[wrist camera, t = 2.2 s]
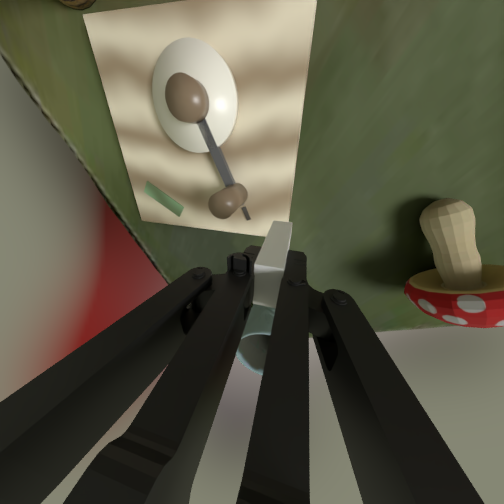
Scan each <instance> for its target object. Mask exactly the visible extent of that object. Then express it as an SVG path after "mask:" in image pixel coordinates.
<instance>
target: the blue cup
mask: <svg viewBox="0 0 504 504" xmlns="http://www.w3.org/2000/svg"><path fill="white" fill-rule="evenodd" d="M275 309H276V308H272V307H267V306H262V305H257V304H253V307H252V308H251V311H250V314H249V317H248V320H247V323H246V326H245V329H244V332H243V335H242V338H241V341H240V344H239V346H238V349H237V352H236V356H237V358H238V359H239V360H240V362H241V363H242V364H243V365H244V366H246V367H247V368H248V369H250V370H252V371H253V372H255V373H257V374H260V375H263V370H264V365H265V360H266V355H267V350H268V345H269V340H270V334H271V329H272V324H273V319H274V314H275Z"/></svg>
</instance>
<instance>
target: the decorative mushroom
mask: <svg viewBox="0 0 504 504" xmlns="http://www.w3.org/2000/svg"><path fill="white" fill-rule="evenodd" d="M419 221H420V225H421V229H422V231H423V233H424V235H425V237H426V238H427V240H428V242H429V244H430V246H431V249H432V252H433V257H434V263H435V265H436V269H430V270H427V271H424V272H421V273H418V274H416V275H414V276H413V277H411V278H410V279H409V280H408V281H407V282H406V285H405V289H404V293H405V295H406V296H407V297H408V299H409V300H410V301H411V302H412V303H413V304H414V305H415V306H416V307H418V308H419V309H420V310H422V311H423V312H424V313H426V314H428V315H430V316H432V317H434V318H437V319H439V320H441V321H444V322H446V323H450V324H454V325H459V326H464V327H477V328H490V327H502V326H504V266H500V265H481V259H480V255H479V253H478V250H477V248H476V243H475V216H474V213H473V209H472V207H470V206H469V205H468V204H466V203H465V202H463V201H462V200H457V199H450V198H445V199H441V200H437V201H434V202H433V203H431V204H430V205H429V206H428V207H426V208H425V209H424V210H423V212H422V214H421V217H420V219H419Z"/></svg>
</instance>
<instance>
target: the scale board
mask: <svg viewBox="0 0 504 504" xmlns="http://www.w3.org/2000/svg"><path fill="white" fill-rule="evenodd" d="M316 4H317V0H186V1H178V2H171V3H164V4H156V5H149V6H142V7H134V8H127V9H119V10H112V11H105V12H97V13H90V14H83V18H84V21H85V25H86V28H87V32H88V35H89V39H90V42H91V46H92V49H93V53H94V56H95V60H96V63H97V66H98V70H99V73H100V77H101V80H102V84H103V87H104V91H105V94H106V98H107V101H108V105H109V108H110V112H111V115H112V119H113V122H114V125H115V129H116V132H117V136H118V139H119V143H120V146H121V150H122V153H123V157H124V160H125V164H126V167H127V171H128V174H129V178H130V181H131V184H132V188H133V191H134V195H135V198H136V202H137V205H138V209H139V212H140V216H141V219H142V221H148V222H156V223H164V224H172V225H180V226H187V227H195V228H203V229H211V230H218V231H226V232H234V233H242V234H250V235H257V236H265V237H266V236H267V234H268V232H269V230H270V227H271V225H272V223H273V221H283V222H289V214H290V207H291V199H292V191H293V183H294V176H295V168H296V160H297V152H298V144H299V137H300V129H301V121H302V113H303V106H304V98H305V90H306V82H307V74H308V67H309V59H310V51H311V43H312V36H313V28H314V20H315V12H316ZM187 37H190V38H196V39H199V40H202V41H204V42H205V43H207V44H209V45H210V46H211V47H212V48H214V49H215V50H216V51H217V52H218V53H219V54H220V56H221V57H222V58H223V59H224V60H225V62H226V63H227V64H228V66H229V68H230V70H231V72H232V74H233V76H234V79H235V82H236V86H237V91H238V99H239V110H238V117H237V122H236V125H235V128H234V130H233V132H232V134H231V136H230V137H229V139H228V140H227V141H226V142H225V143H224V144H223V145H222V146H221V147H220V148H221V150H222V152H223V155H224V157H225V159H226V162H227V164H228V166H229V169H230V171H231V173H232V176H233V178H234V180H235V183H240V184H242V185H243V186H244V187H245V188H246V190H247V193H248V197H247V200H246V201H245V204H244V205H242V206H240V207H239V208H238V209H237V210H236V211H235V212H234V213H233V214H232V215H231V216H230V217H229V218H227V219H218V218H216V217H215V216H213V215H212V213H211V212H210V210H209V207H208V201H209V198H210V197H211V196H212V195H213V194H215V193H216V192H218V191H220V190H222V189H224V188H225V184H224V182H223V180H222V178H221V176H220V173H219V171H218V169H217V167H216V165H215V162H214V160H213V158H212V156H211V154H210V152H203V153H195V152H190V151H188V150H185V149H183V148H182V147H180V146H179V145H177V144H176V143H175V142H174V141H173V140H172V139H171V138H170V137H169V136H168V135H167V133H166V132H165V130H164V129H163V127H162V125H161V123H160V121H159V119H158V116H157V113H156V110H155V107H154V102H153V94H152V81H153V74H154V69H155V66H156V63H157V61H158V58H159V56H160V55H161V53H162V52H163V50H164V49H165V48H166V47H167V46H168V45H169V44H171V43H172V42H173V41H175V40H177V39H181V38H187Z"/></svg>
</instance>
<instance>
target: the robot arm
mask: <svg viewBox="0 0 504 504" xmlns="http://www.w3.org/2000/svg"><path fill="white" fill-rule="evenodd" d="M291 230H292V222H283V221H273V223H272V225H271V227H270V230H269V232H268V234H267V236H266V239H265V241H264V243H263V245H262V247H259V246H252V245H251V246H249V247H247V248H246V249H245V251H244V253H233V254H231V255H229V256H228V257H227V266H228V271H227V272H226V274H217V275H212V272H211V270H210V269H208V268H205V267H197V268H193V269H191V270H189V271H188V272H186V273H185V274H183V275H182V276H181V277H179V278H178V279H176V280H175V281H173V282H172V283H171V284H169V285H168V286H166V287H165V288H164V289H162V290H161V291H159V292H158V293H156V294H155V295H153V296H152V297H151V298H149V299H148V300H146V301H145V302H143V303H142V304H141V305H139V306H138V307H136V308H135V309H133V310H132V311H130V312H129V313H128V314H126V315H125V316H123V317H122V318H120V319H119V320H118V321H116V322H115V323H113V324H112V325H110V326H109V327H108V328H106V329H105V330H103V331H102V332H100V333H99V334H98V335H96V336H95V337H93V338H92V339H90V340H89V341H88V342H86V343H85V344H83V345H82V346H81V347H79V348H77V349H76V350H75V351H73V352H72V353H70V354H69V355H67V356H66V357H65V358H63V359H62V360H60V361H59V362H57V363H56V364H55V365H53V366H52V367H50V368H49V369H47V370H46V371H45V372H43V373H42V374H40V375H39V376H37V377H36V378H34V379H33V380H32V381H30V382H29V383H27V384H26V385H24V386H23V387H22V388H20V389H19V390H17V391H16V392H14V393H13V394H11V395H10V396H9V397H8V398H6V399H5V400H3V401H1V402H0V504H41V502H42V501H43V500H44V499H45V498H46V497H47V496H48V495H49V494H50V493H51V492H52V491H53V490H54V489H55V488H56V487H57V486H58V485H59V484H60V483H61V482H62V480H63V479H64V478H65V477H66V476H67V475H68V474H69V473H70V471H71V470H72V469H73V468H74V467H75V466H76V465H77V464H78V463H79V462H80V461H81V460H82V458H83V457H84V456H85V455H86V454H87V453H88V452H89V451H90V450H91V449H92V447H93V446H94V445H95V444H96V443H97V442H98V441H99V440H100V439H101V438H102V436H103V435H104V434H105V433H106V432H107V431H108V430H109V429H110V428H111V427H112V425H113V424H114V423H115V422H116V421H117V420H118V419H119V418H120V417H121V416H122V415H123V413H124V412H125V411H126V410H127V409H128V408H129V407H130V406H131V405H132V403H133V402H134V401H135V400H136V399H137V398H138V397H139V396H140V395H141V394H142V393H143V391H144V390H145V389H146V388H147V387H148V386H149V385H150V384H151V383H152V382H153V380H154V379H155V378H156V377H157V376H158V375H159V374H160V373H161V372H162V371H163V369H164V368H165V367H166V366H167V365H168V366H167V368H166V369H165V371H164V372H163V374H162V376H161V377H160V379H159V380H158V382H157V384H156V385H155V387H154V388H153V390H152V392H151V393H150V395H149V396H148V398H147V400H146V401H145V403H144V404H143V406H142V407H141V409H140V411H139V412H138V414H137V415H136V417H135V419H134V420H133V422H132V423H131V425H130V426H129V428H128V429H127V430H126V432H125V433H124V434H123V435H122V436H120V437H119V438H117V439H115V440H113V441H112V442H110V443H108V444H107V445H106V446H105V447H104V448H103V449H102V450H101V451H100V452H99V453H98V454H97V456H96V457H95V458H94V460H93V461H92V462H91V463H90V465H89V466H88V467H87V469H86V471H85V472H84V473H83V475H82V476H81V478H80V479H79V481H78V482H77V484H76V485H75V487H74V488H73V489H72V491H71V493H70V494H69V495H68V497H67V498H66V500H65V501H64V503H63V504H189V499H190V492H191V488H192V484H193V480H194V477H195V474H196V471H197V468H198V465H199V462H200V459H201V456H202V453H203V450H204V447H205V444H206V442H207V438H208V436H209V433H210V429H211V427H212V424H213V421H214V417H215V415H216V412H217V409H218V406H219V403H220V400H221V397H222V394H223V391H224V388H225V385H226V382H227V379H228V376H229V373H230V370H231V367H232V364H233V361H234V358H235V355H236V352H237V349H238V346H239V344H240V341H241V338H242V335H243V332H244V329H245V326H246V323H247V320H248V317H249V314H250V311H251V302H252V299H253V304H257V305H262V306H267V307H272V308H276V309H275V314H274V319H273V324H272V329H271V334H270V340H269V345H268V350H267V355H266V360H265V365H264V370H263V375H262V380H261V386H260V391H259V396H258V401H257V406H256V411H255V417H254V422H253V426H252V432H251V437H250V442H249V447H248V452H247V457H246V462H245V467H244V473H243V477H242V482H241V486H240V490H239V493H238V498H237V502H236V504H310V492H309V491H310V489H309V332H310V333H312V334H313V339H314V342H315V345H316V349H317V352H318V355H319V359H320V362H321V365H322V369H323V372H324V375H325V379H326V382H327V385H328V389H329V392H330V395H331V398H332V402H333V405H334V408H335V412H336V415H337V418H338V422H339V425H340V428H341V431H342V435H343V438H344V441H345V445H346V448H347V451H348V454H349V458H350V461H351V464H352V468H353V471H354V474H355V478H356V480H357V484H358V487H359V491H360V494H361V497H362V501H363V504H484V502H483V501H482V499H481V498H480V496H479V495H478V493H477V491H476V490H475V488H474V487H473V485H472V483H471V482H470V480H469V479H468V477H467V476H466V474H465V473H464V471H463V469H462V468H461V467H460V465H459V463H458V462H457V460H456V459H455V457H454V455H453V454H452V452H451V451H450V449H449V448H448V446H447V444H446V443H445V441H444V440H443V438H442V437H441V435H440V434H439V432H438V430H437V429H436V427H435V426H434V424H433V423H432V421H431V419H430V418H429V416H428V415H427V413H426V412H425V410H424V409H423V407H422V405H421V404H420V403H419V401H418V399H417V398H416V396H415V394H414V393H413V391H412V390H411V388H410V387H409V385H408V384H407V382H406V381H405V379H404V377H403V376H402V374H401V373H400V371H399V370H398V368H397V366H396V365H395V363H394V362H393V360H392V359H391V357H390V355H389V354H388V352H387V351H386V349H385V348H384V346H383V344H382V343H381V341H380V340H379V338H378V337H377V335H376V333H375V332H374V330H373V329H372V327H371V326H370V324H369V323H368V321H367V319H366V318H365V316H364V315H363V313H362V312H361V310H360V308H359V307H358V305H357V304H356V302H355V301H354V299H353V298H352V297H351V296H350V295H349V294H347V293H345V292H343V291H341V290H336V289H330V290H327V291H325V292H324V293H321V292H319V291H317V290H314V289H313V288H312V287H310V286H309V285H308V282H307V280H306V261H307V257H306V255H305V254H304V252H299V251H292V250H289V245H290V237H291ZM190 303H191V304H190ZM189 304H190V305H189ZM188 305H189V306H188Z"/></svg>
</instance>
